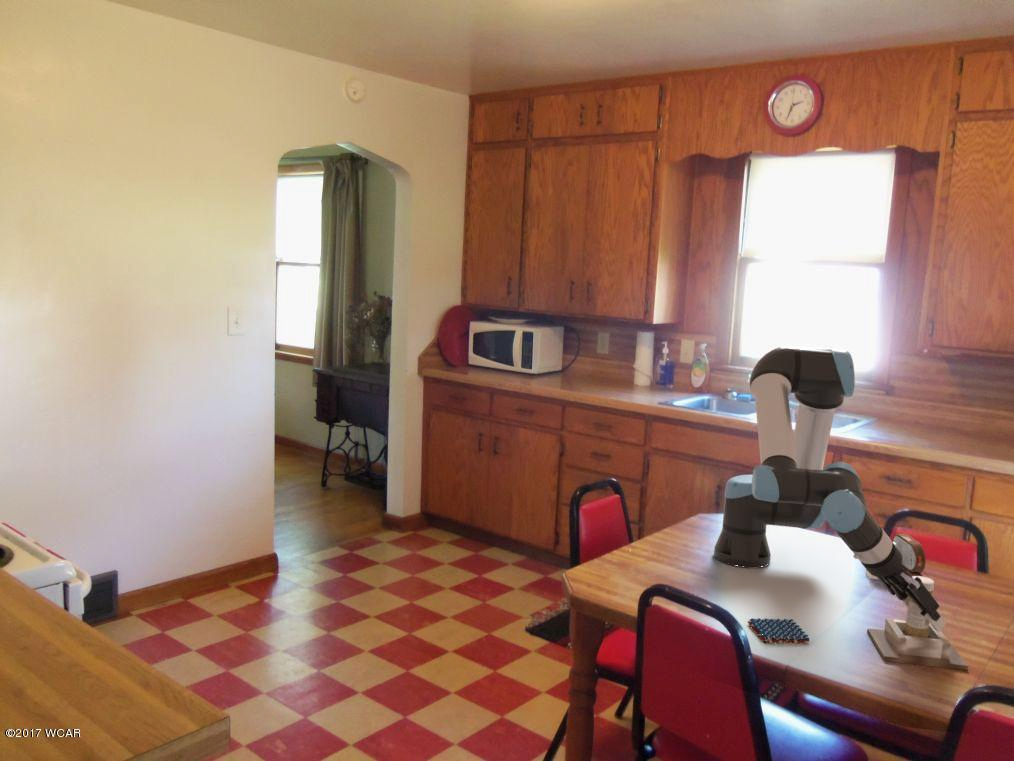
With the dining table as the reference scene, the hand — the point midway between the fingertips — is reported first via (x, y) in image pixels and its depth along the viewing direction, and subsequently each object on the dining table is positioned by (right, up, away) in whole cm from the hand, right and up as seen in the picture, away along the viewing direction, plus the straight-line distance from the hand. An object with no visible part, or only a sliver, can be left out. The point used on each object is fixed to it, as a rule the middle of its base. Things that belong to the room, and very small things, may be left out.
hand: (932, 621), depth 176 cm
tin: (+20, -1, +53) cm, 57 cm away
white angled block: (+8, -1, +44) cm, 45 cm away
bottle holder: (-4, -6, 0) cm, 7 cm away
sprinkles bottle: (-4, -4, -1) cm, 6 cm away
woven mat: (-31, -5, +6) cm, 32 cm away
